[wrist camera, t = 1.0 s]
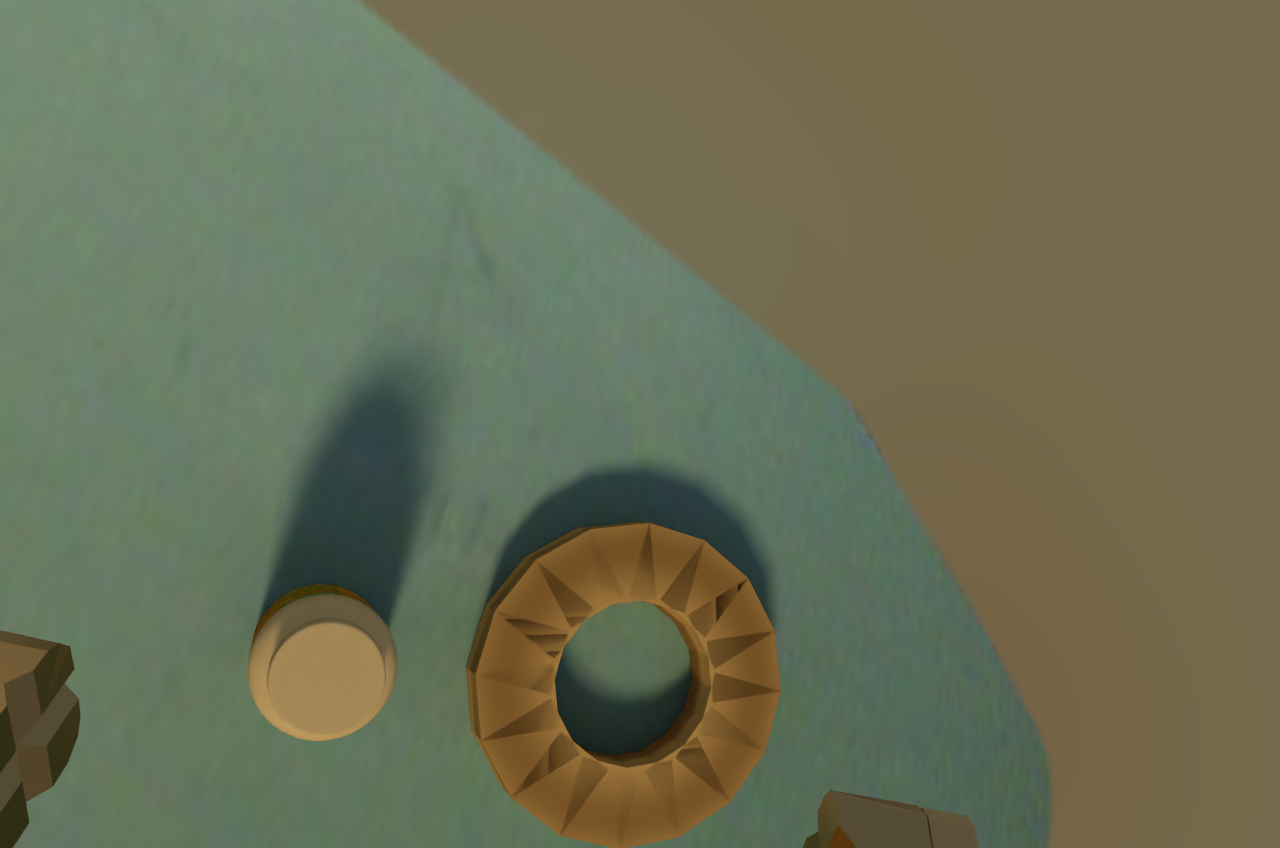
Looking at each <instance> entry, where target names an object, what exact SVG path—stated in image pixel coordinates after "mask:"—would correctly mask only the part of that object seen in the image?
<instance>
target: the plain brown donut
mask: <svg viewBox="0 0 1280 848" xmlns="http://www.w3.org/2000/svg"><path fill="white" fill-rule="evenodd" d="M640 600H641V601H644V602H648V603H651V604H654V605H655V606H656V607H657V608H658V609H660V610H661V611H662V612H663V613H664V614H666V615H667V616H668V617H669V618H670V619H672V620H673V621H674V622H675V623H676V625H677V627H678V629H679V631H680V633H681V635H682V637H683V639H684V641H685V642H686V644H687V646H688V648H689V655H690V665H691V676H692V681H691V684H690V688H689V692H688V695H687V699H686V703H685V706H684V710H683V711H682V712H681V714H680V715H679V717H678V718H677V719H676V721H675V722H674V723H673V725H672V726H671V728H670V729H669V730H668V732H667V733H666V734H665V735H664V736H662V737H661V738H659V739H658V740H656V741H655V742H653V743H651V744H650V745H648V746H647V747H645V748H644V749H642V750H641V751H636V752H630V753H625V754H619V755H614V756H609V755H605V754H601V753H597V752H593V751H589V750H585V749H582V748H581V747H579V746H578V745H577V744H576V743H574V742H573V741H572V739H571V737H570V735H569V733H568V731H567V729H566V727H565V725H564V724H563V722H562V720H561V718H560V716H559V714H558V711H557V700H556V689H555V676H556V673H557V669H558V666H559V663H560V659H561V656H562V652H563V649H564V646H565V645H566V644H567V642H568V641H569V640H570V638H571V637H572V636H573V635H574V633H575V632H576V631H577V629H578V628H579V627H580V625H581V624H582V623H583V622H584V620H586V619H588V618H589V617H591V616H593V615H595V614H596V613H598V612H600V611H601V610H603V609H605V608H606V607H608V606H610V605H611V604H617V603H625V602H633V601H640ZM466 672H467V683H468V695H469V707H470V718H471V730H472V732H473V734H474V735H475V737H476V739H477V741H478V743H479V745H480V747H481V749H482V751H483V752H484V754H485V756H486V758H487V760H488V762H489V764H490V766H491V768H492V769H493V771H494V773H495V775H496V777H497V779H498V781H499V783H500V784H501V786H502V787H503V788H504V789H505V791H506V792H507V793H508V794H509V796H510V797H511V798H512V799H514V800H515V801H516V802H517V803H519V804H520V805H521V806H523V807H524V808H525V809H527V810H528V811H529V812H530V813H532V814H533V815H534V816H536V817H537V818H538V819H539V820H541V821H542V822H543V823H545V824H546V825H547V826H548V827H550V828H551V829H552V830H554V831H555V832H556V833H558V834H559V835H560V836H564V837H568V838H573V839H577V840H582V841H586V842H591V843H595V844H599V845H604V846H608V847H613V848H627V847H632V846H637V845H642V844H647V843H651V842H656V841H661V840H666V839H671V838H676V837H680V836H681V835H682V834H684V833H685V832H687V831H688V830H690V829H691V828H693V827H694V826H696V825H697V824H699V823H700V822H702V821H703V820H704V819H706V818H707V817H709V816H710V815H712V814H713V813H715V812H716V811H718V810H719V809H721V808H722V807H724V806H725V805H726V804H728V803H729V802H730V801H731V800H732V798H733V797H734V795H735V794H736V793H737V791H738V790H739V788H740V787H741V785H742V784H743V782H744V781H745V780H746V778H747V777H748V775H749V774H750V772H751V771H752V769H753V768H754V767H755V765H756V764H757V762H758V761H759V759H760V758H761V756H762V755H763V753H764V752H765V750H766V746H767V742H768V738H769V734H770V731H771V727H772V723H773V719H774V715H775V711H776V707H777V703H778V700H779V696H780V692H781V690H780V680H779V669H778V659H777V649H776V639H775V631H774V629H773V627H772V625H771V623H770V621H769V619H768V617H767V615H766V613H765V611H764V609H763V607H762V605H761V603H760V601H759V599H758V597H757V595H756V593H755V591H754V589H753V587H752V585H751V583H750V581H749V579H748V578H747V577H746V576H745V575H744V574H743V573H742V572H741V571H739V570H738V569H737V568H736V567H735V566H734V565H732V564H731V563H730V562H729V561H728V560H727V559H726V558H724V557H723V556H722V555H721V554H720V553H719V552H718V551H716V550H715V549H714V548H713V547H712V546H711V545H710V544H708V543H707V542H706V541H705V540H702V539H699V538H696V537H693V536H690V535H686V534H683V533H680V532H677V531H674V530H671V529H667V528H664V527H661V526H658V525H655V524H652V523H641V522H630V523H621V524H612V525H602V526H593V527H584V528H576V529H574V530H572V531H570V532H568V533H567V534H565V535H563V536H561V537H559V538H558V539H556V540H554V541H552V542H551V543H549V544H547V545H545V546H543V547H542V548H540V549H538V550H536V551H534V552H533V553H531V554H529V555H527V556H526V557H524V558H523V559H522V560H521V561H520V563H519V564H518V565H517V566H516V568H515V569H514V570H513V571H512V573H511V574H510V575H509V576H508V578H507V579H506V580H505V581H504V583H503V584H502V585H501V586H500V588H499V589H498V590H497V591H496V593H495V594H494V595H493V596H492V598H491V599H490V600H489V601H488V603H487V604H486V605H485V607H484V610H483V613H482V617H481V620H480V623H479V626H478V630H477V633H476V636H475V639H474V643H473V646H472V649H471V653H470V656H469V659H468V662H467V666H466Z"/></svg>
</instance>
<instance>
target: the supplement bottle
mask: <svg viewBox="0 0 1280 848" xmlns="http://www.w3.org/2000/svg"><path fill="white" fill-rule="evenodd" d="M396 673H397V653H396V647H395V643H394V640H393V638H392V635H391V633H390V630H389V629H388V627H387V625H386V624H385V622H384V621H383V620H382V619H381V617H380V616H379V615H378V614H377V613H376V612H375V611H374V610H373V609H372V607H371V606H370V605H369V604H368V603H367V602H366V601H365V600H364V599H363V598H361V597H360V596H359V595H357V594H356V593H354V592H352V591H350V590H348V589H346V588H343V587H340V586H336V585H331V584H312V585H306V586H302V587H299V588H297V589H294V590H292V591H290V592H288V593H286V594H284V595H283V596H281V597H280V598H279V599H277V600H276V601H275V602H274V603H273V604H272V605H271V606H270V607H269V608H268V609H267V610H266V612H265V613H264V615H263V616H262V618H261V619H260V621H259V623H258V625H257V627H256V630H255V633H254V636H253V641H252V645H251V650H250V655H249V661H248V680H249V686H250V690H251V694H252V697H253V699H254V701H255V703H256V705H257V707H258V709H259V710H260V712H261V713H262V714H263V716H264V717H265V718H266V719H267V720H268V721H269V722H270V723H271V724H273V725H274V726H275V727H277V728H278V729H280V730H281V731H283V732H285V733H287V734H289V735H291V736H294V737H297V738H300V739H305V740H313V741H322V740H331V739H336V738H340V737H343V736H346V735H348V734H350V733H352V732H354V731H356V730H358V729H360V728H361V727H363V726H364V725H366V724H367V723H368V722H369V721H371V720H372V719H373V718H374V717H375V716H376V715H377V714H378V712H379V711H380V710H381V709H382V707H383V706H384V704H385V703H386V701H387V700H388V698H389V696H390V694H391V691H392V689H393V686H394V683H395V679H396Z"/></svg>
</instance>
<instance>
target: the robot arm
mask: <svg viewBox="0 0 1280 848" xmlns="http://www.w3.org/2000/svg"><path fill="white" fill-rule="evenodd" d="M73 670H74V664H73V659H72V654H71V649H70V646H67V645H63V644H60V643H56V642H51V641H46V640H42V639H37V638H33V637H28V636H24V635H19V634H15V633H10V632H6V631H1V630H0V848H13V847H14V845H15V844H16V842H17V841H18V839H19V838H20V836H21V834H22V833H23V831H24V830H25V828H26V827H27V825H28V824H29V817H28V811H27V804H26V802H27V801H28V800H30V799H32V798H34V797H35V796H37V795H39V794H41V793H42V792H44V791H46V790H48V789H49V788H51V787H53V786H54V784H55V783H56V781H57V779H58V778H59V776H60V775H61V773H62V771H63V770H64V768H65V767H66V765H67V763H68V761H69V758H70V756H71V753H72V750H73V748H74V745H75V742H76V740H77V737H78V732H79V723H80V707H79V699H78V697H77V696H76V695H75V694H74V693H73V692H72V691H71V690H70V689H69V688H68V687H67V686H66V685H65V684H64V683H65V682H66V680H67V679H68V677H69V676H70V674H71V673H72V672H73ZM818 830H819V831H818V832H817V833H815V834H813V835H811V836H809V837H807V838H806V841H805V843H804V846H803V848H979V846H978V841H977V836H976V832H975V827H974V824H973V823H972V821H971V820H970V818H969V817H968V816H964V815H959V814H954V813H948V812H943V811H938V810H933V809H928V808H919V807H918V806H916V805H911V804H905V803H899V802H894V801H888V800H883V799H877V798H871V797H866V796H860V795H855V794H849V793H843V792H838V791H832V790H830V791H829V792H828V793H827V794H826V795H825V796H824V798H823V800H822V803H821V805H820V807H819V809H818Z"/></svg>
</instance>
